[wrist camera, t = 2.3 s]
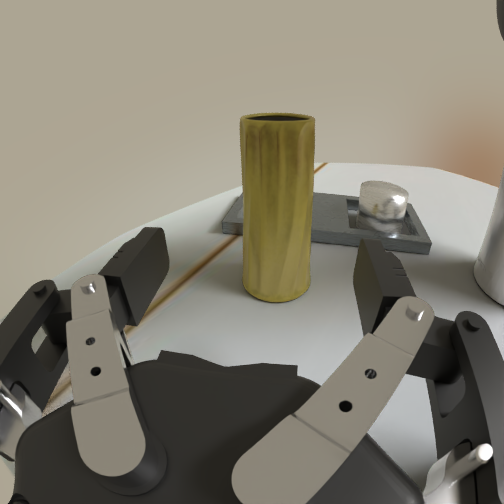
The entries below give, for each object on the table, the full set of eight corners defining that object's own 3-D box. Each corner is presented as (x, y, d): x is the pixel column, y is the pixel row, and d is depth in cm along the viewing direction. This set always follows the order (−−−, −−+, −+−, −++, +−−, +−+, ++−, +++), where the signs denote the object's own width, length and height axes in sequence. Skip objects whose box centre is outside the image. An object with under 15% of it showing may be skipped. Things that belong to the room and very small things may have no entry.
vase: (231, 294, 26) (218, 121, 18) (256, 256, 30) (252, 111, 23) (300, 310, 24) (313, 125, 16) (316, 268, 28) (327, 115, 21)
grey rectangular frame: (408, 213, 39) (415, 180, 36) (428, 254, 30) (439, 214, 27) (246, 197, 44) (245, 164, 41) (222, 233, 35) (219, 192, 32)
